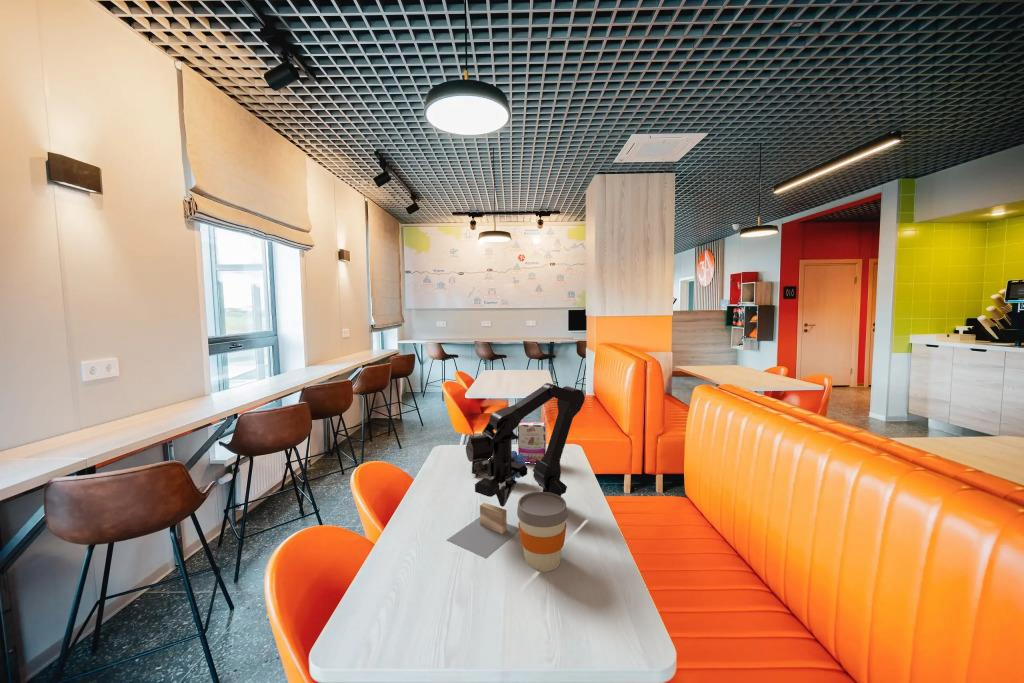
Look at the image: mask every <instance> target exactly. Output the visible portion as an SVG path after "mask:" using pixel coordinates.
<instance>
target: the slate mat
mask: <svg viewBox="0 0 1024 683" xmlns="http://www.w3.org/2000/svg"><path fill="white" fill-rule="evenodd" d="M517 533H519V527H518V526H515V525H512V524H509V523H507V531H505V532H504V533H503V534H501V533H498V532H496V531H494V530H491V529H489V528H486V527H484V526H481V525H480V516H479V517H477V518H476V519H474V520H473V521H472V522H470V523H469V524H468V525H466V526H465V527H463V528H462V529H460V530H459V531H457V532H456V533H455V534H453V535H452V536H450V537H449V538H447V539H446V541H447V542H449V543H452V545H453V544H454V545H456V546H458V547H460V548H462V549H464V550H466V551H469V552H471V553H473V554H475V555H478V556H479V557H482V558H484V559H487V558H489V557H490V556H491V555H492V554H493V553H494V552H495V553H496V551H497V550H498V549H499V548H500V547H502V546H503V545H505V543H507V542H508V541H509V540H511V539H512V538H513V536H515V535H516V534H517Z"/></svg>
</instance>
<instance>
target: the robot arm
mask: <svg viewBox="0 0 1024 683" xmlns="http://www.w3.org/2000/svg"><path fill="white" fill-rule="evenodd" d="M552 399H557V402H556V405H557V415H556V419H555V421H554V425H553V428H552V431H551V434H550V438H549V442H548V444H547V447H546V454H545V456H544V457H543V458H542V459H541V460H538V459H537V460H536V464H534V468H533V469H532V472H533V479H534V481H535V482H536V483H537V484H538V486H539V487H541V488H542V492H549V493H554V494H557V495H559V496H561V497H562V495H563V494H566V491H567V489H568V486H567V485H566V484H565V483H563V481H562V480H561V475H562V468H561V463H560V462H561V458H562V455H563V452H564V448H565V446H566V442H567V439H568V436H569V433H570V429H571V425H572V422H573V420H574V418H575V417H576V415H578V413H579V412H580V411H581V410H582V407H583V405H584V403H585V400H586V396H585V394H584V392H583V390H581V389H578V388H574V387H571V386H567V385H566V386H563V387H560V386H558V385H556V384H553V383H549V382H546V383H543V384H542V386H541V387H540V388H537V390H535V391H533V392H532V393H530V394H528V395H527V396H526V397H524V398H522V399H521V400H519V401H518V402H516V403H515V404H513V405H511V406H505V407H501V408H500V409H498V410H495V411H493V412H492V413H491V414H490V415H489V419H488V422H487V424H486V425H485V427H484V428H483V430H482V432H481V433H482V434H480V435H477V436H476V435H473V436H472V435H471V436H469V437H468V441H467V442H466V445H465V454H466V458H467V460H468V461H469V462H471V463H472V461H477V460H482V459H487V458H490V459H489V460H486V461H483V462H477V463H475V464H474V472H475V474H474V475H478V476H483V475H487V477H490V478H491V477H493V478H491V479H489V478H486V477H484V478H482V479H481V480H479V481H477V482H476V483H474V492H475V493H476V494H477V493H478V494H480V495H483V496H485V497H488V498H490V497H491V498H492V497H493V496H496V499H497V500H498V503H499V506H500V507H501V508H504V507H505V506H506V504H507V502H508V500H509V498H510V497H511V496H510V495H511V494H512V491H513V490H514V488H515V486H516V484H517V482H518V480H516V479H515V480H513V478H512V476H514V475H516V474H517V472H520V476H521V477H520V478H523V477H525V476H527V475H528V467H527V465H526V466H525V465H523V464H520V463H516V462H514V461H515V458H514V457H512V451H513V449H512V448H513V447H512V446H513V445H512V441H514V440H518V434H517V435H516V434H515V430H516V428H518V425H519V423H520V422H522V420H523V419H524V418H525V417H527V416H529V415H530V414H531V413H533V412H534V411H535V410H537V409H540V408H541V407H542V406H543V405H544V404H547V403H548V402H549V401H551V400H552ZM492 431H494V432H492ZM495 431H496V432H495Z"/></svg>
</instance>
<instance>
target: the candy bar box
mask: <svg viewBox="0 0 1024 683" xmlns="http://www.w3.org/2000/svg"><path fill="white" fill-rule="evenodd" d="M546 429H547V427H546V422H543V421H541V422H539V421H538V422H537V421H535V422H534V421H521V422H520V423H519V425H518V426H517V436H518V439H517V440H518V441H517V442H518V443H517V447H518V448H517V449H518V451H517V455H518V454H522V455H523V456H524V459H523V461H524V462H530V463H536V460H537V459H538V460H541V459H542V458H543V457H544V456H545V454H546V451H547V433H546V432H547V430H546Z"/></svg>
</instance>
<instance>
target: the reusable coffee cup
mask: <svg viewBox="0 0 1024 683" xmlns="http://www.w3.org/2000/svg"><path fill="white" fill-rule="evenodd" d="M516 511H517V512H516V516H517V518H518V520H519V521H518V526H517V527H518V528H519V531H518V533H519V540H520V544H521V546H522V550H523V556H524V561H525V563H526V564H527V565H528V566H529V567H531V568H533V569H536V571H537V572H551V571H553V570H555V569H557V568H558V567H559V566H560V563H561V557H562V550H563V547H564V546H565V538H566V531H567V523H566V520H567V519H568V508H567V502H566V500H565V499H564V497H562V495H561V496H559V495H557V494H554V493H549V492H543V491H533V492H528V493H526V494H524V495H523V496H521V497H520V498H519V499H518V502H517V510H516Z"/></svg>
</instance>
